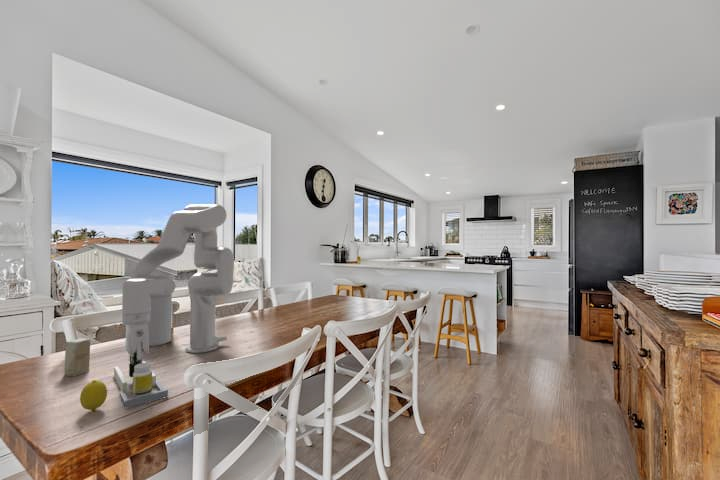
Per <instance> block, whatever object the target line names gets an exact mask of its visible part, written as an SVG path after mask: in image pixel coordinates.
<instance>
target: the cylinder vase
mask: <svg viewBox="0 0 720 480" xmlns="http://www.w3.org/2000/svg"><path fill="white" fill-rule="evenodd" d="M172 296H173V293H172V294H171V295H170V296H168V297H166V298H161V299H151V312H150V322H148V333H149V347H156V346H161V345H165V344H167V343H169V342H170V341H171V340H172V303H173V302H172Z"/></svg>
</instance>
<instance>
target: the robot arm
mask: <svg viewBox="0 0 720 480" xmlns="http://www.w3.org/2000/svg"><path fill="white" fill-rule="evenodd" d="M226 220H227V209H225V207H224V206H223V205H221V204H214V203H213V204H212V203H211V204H210V203H209V204H207V203H206V204H205V203H204V204H202V203H200V204H199V203H197V204H189V205H185V207H184V208H183V210H178V211H175V212H173V213H171V214H170V216H169V218H168V221H167V222H166V224H165V227H164V230H163V232H162V234H161V237H160V239H159V242H158V244H157V245H156V246H155V247H154V248H153V249H151V250H150V251H149V252H148V253H147V254H145V255H144V256H143V257H142V258H141V259H140V260H139V261H138V262H137V264H136V265H135V266H134V269H133V271H132V273H131V276H130V278H129V279H126V280H124V281H123V283H122V294H121V295H122V299H121V300H122V305H121V307H122V308H121V309H122V310H121V317H122V318H121V325H123V326H125V350H126V352H127V353H128V355H129V364H128V365H129V366H128V368H129V369H128V376H129V377H130V378H133V373H134V372H135V371H134V366H135V365H137V364H140V363H142V361H143V353H144V354H145V355H148V354H150V346H149V333H148V322H150V312H151V299H161V298H166V297H168V296H170V295H171V294H172V295H173V293H174V291H175V290H176V283H175V281H174V280H173V278H170V277H169V276H164V275H153V273H154V272H155V270H157V268H159V267H160V266H161V265H163V264H164V263H167V262H169V261H172V260H174V259H176V258H178V257H180V256H182V255H183V254H184V251H185V249H186V245H188V241H189V238H190V236H191V234H194V236H195V238H194V254H193V264H194V267H196V268H197V269H199V270H200V269H201V270H214V271H215V270H216V272H197V273H194V274H192V275H191V276H190V277H189V279H188V282H187V287H188V288H187V289H188V292H189V293H188V294H189V298H190V302H189V303H190V317H189V323H190V324H189V344H188V345H186V346H185V351H186V352H187V353H191V354H202V353H208V352H212V351H215V350H217V349H219V346H220V344H219V343H220V342H224V341H228V340H227V339H228V338H227V335H224V336H223V335H218V336H217V335H216V310H217V309H216V302H215V300H214V298H213V297H227V296H229V295H230V293H231V292H232V290H233V285H234V273H235V271H234V269H235V257H234V253H233V251H232V250H231V249H230V247H229V248H228V247H225V246H224V247H223V246H218V234H217V231H216V230H215V229H217V228H218V227H220V226H222V225H223V224H224V223H225V222H226Z"/></svg>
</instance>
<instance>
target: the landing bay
mask: <svg viewBox="0 0 720 480" xmlns="http://www.w3.org/2000/svg"><path fill="white" fill-rule="evenodd" d="M154 387H155V388H156V391H152V392H151V393H149V394H145V395H141V396H137V397H135V396H133V397H130V398H129V397H128V396H127V394H126V393H125V392H124V391H121V390H120V391H119V397H120V399H121V401H122V403H123V405H124V408H125V409H129V408H133V407H136V406H139V405H140V406H141V405H144V404H146V402H147V403H150V402H149V401H151V402H154V401H153V400H155V401H157V400H156V399H159V400H161V399H160V398H162V399H164V398H163V397H166V398H168V397H169V389H168V388H164V386H163V385H162V384H161V383H160V381H158V382H157V381H156V383H155V386H154ZM157 390H159V391H157ZM167 396H168V397H167ZM143 403H144V404H143Z"/></svg>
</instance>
